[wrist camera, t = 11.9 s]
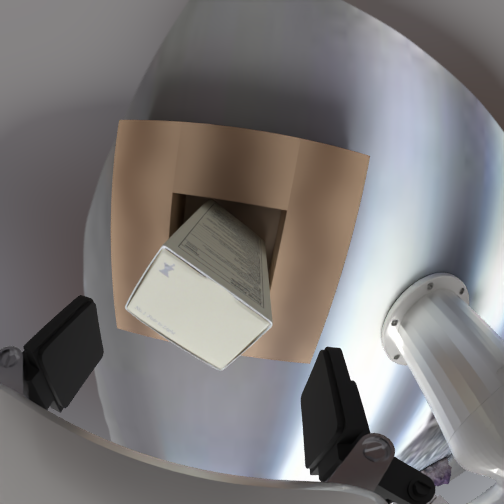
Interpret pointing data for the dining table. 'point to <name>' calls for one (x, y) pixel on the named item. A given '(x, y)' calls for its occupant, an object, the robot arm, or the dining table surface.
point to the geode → (439, 472)
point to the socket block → (239, 214)
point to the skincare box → (207, 288)
